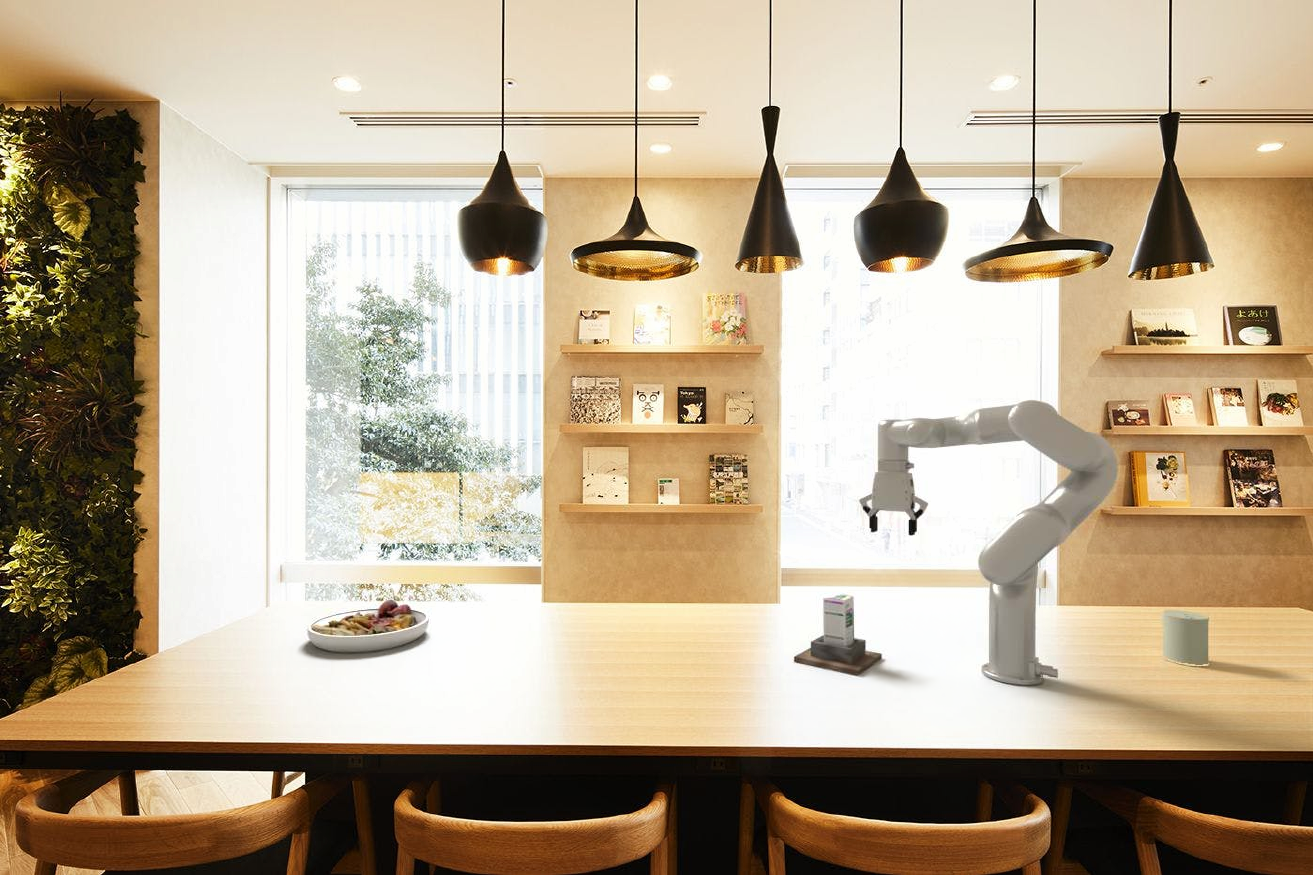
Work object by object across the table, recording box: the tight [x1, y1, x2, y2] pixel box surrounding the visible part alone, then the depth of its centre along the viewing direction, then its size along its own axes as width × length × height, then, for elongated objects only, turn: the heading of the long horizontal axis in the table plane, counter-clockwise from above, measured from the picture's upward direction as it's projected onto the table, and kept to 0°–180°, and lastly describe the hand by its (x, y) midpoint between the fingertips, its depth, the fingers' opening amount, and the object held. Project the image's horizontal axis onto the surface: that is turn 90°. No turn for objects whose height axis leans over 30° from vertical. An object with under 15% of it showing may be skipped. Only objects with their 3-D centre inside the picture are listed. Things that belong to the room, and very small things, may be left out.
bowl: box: [306, 599, 430, 654], centre depth 181 cm, size 30×30×8 cm
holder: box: [793, 634, 883, 677], centre depth 165 cm, size 16×16×5 cm
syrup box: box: [822, 593, 855, 647], centre depth 165 cm, size 6×6×14 cm
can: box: [1161, 609, 1210, 665], centre depth 167 cm, size 9×9×12 cm
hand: (892, 533), depth 173 cm, fingers open, 9 cm apart
